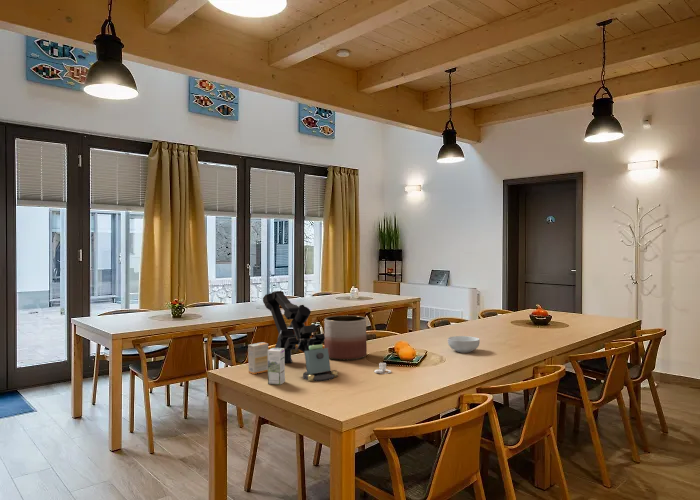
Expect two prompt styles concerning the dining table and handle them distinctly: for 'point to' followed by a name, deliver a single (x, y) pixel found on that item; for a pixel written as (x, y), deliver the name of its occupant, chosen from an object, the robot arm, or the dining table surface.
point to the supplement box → (258, 357)
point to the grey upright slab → (317, 359)
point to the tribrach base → (320, 376)
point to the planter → (345, 337)
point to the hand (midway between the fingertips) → (311, 356)
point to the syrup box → (276, 366)
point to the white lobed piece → (382, 369)
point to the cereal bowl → (463, 343)
